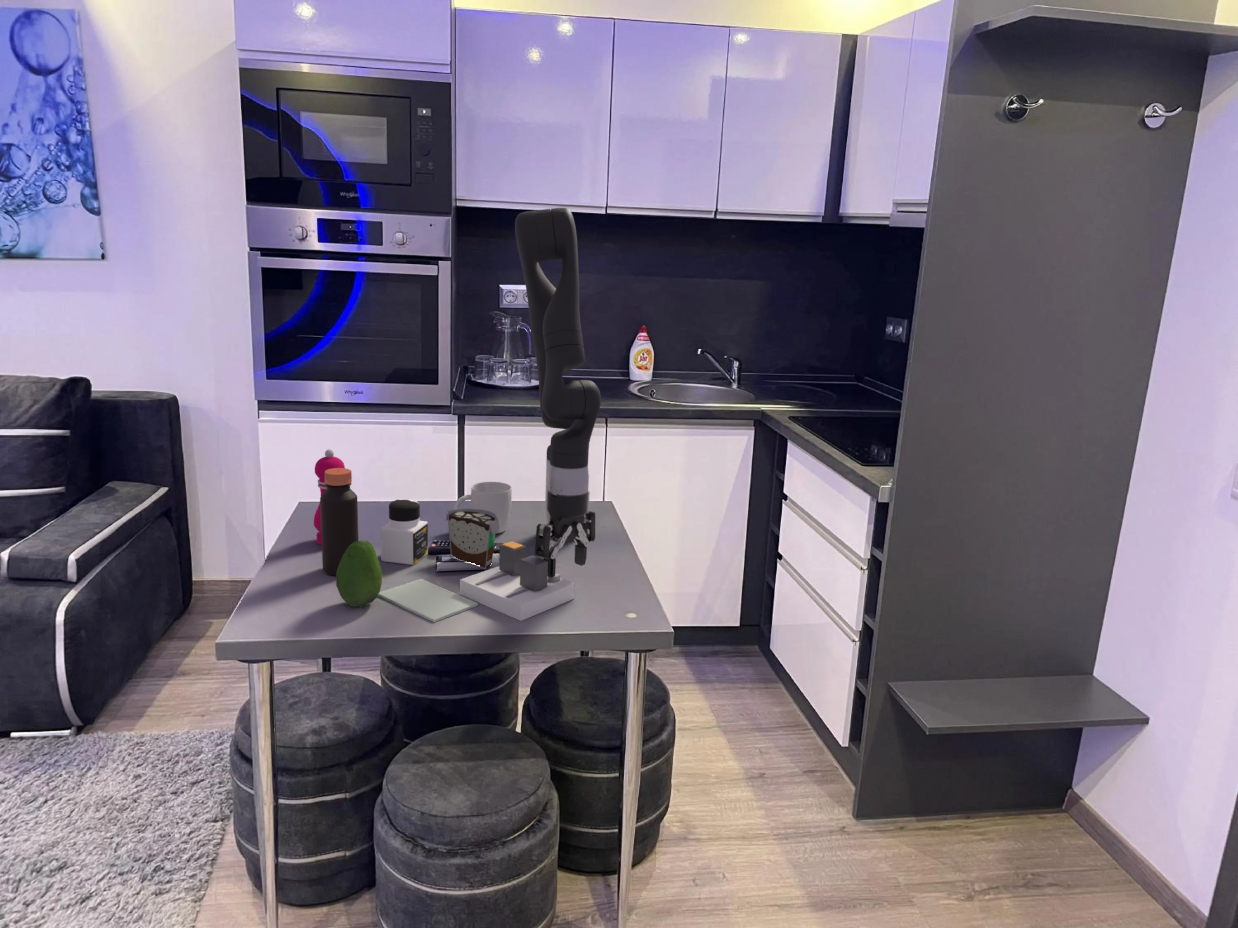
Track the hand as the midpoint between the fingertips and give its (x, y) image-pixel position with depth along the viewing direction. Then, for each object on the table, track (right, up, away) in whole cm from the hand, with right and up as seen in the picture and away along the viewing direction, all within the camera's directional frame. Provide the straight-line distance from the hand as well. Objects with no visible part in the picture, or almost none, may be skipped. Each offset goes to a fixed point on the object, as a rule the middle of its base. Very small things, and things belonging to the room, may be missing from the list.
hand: (564, 570), depth 169 cm
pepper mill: (-51, +4, +21) cm, 55 cm away
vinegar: (-44, -1, +6) cm, 44 cm away
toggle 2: (-5, -2, -6) cm, 8 cm away
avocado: (-36, -5, -9) cm, 38 cm away
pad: (-25, -5, -6) cm, 26 cm away
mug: (-21, +5, +32) cm, 39 cm away
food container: (-19, 0, +15) cm, 24 cm away
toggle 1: (-10, 0, +1) cm, 10 cm away
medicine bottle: (-34, +1, +14) cm, 36 cm away
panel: (-9, -5, -3) cm, 10 cm away
